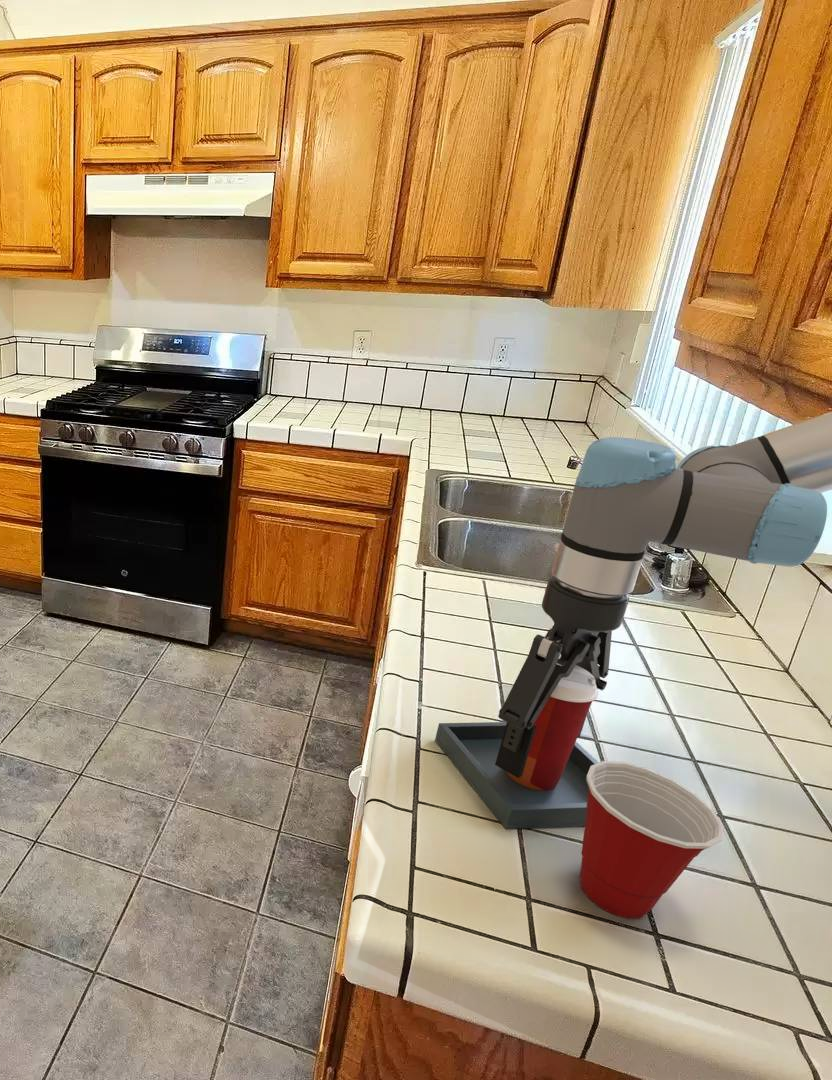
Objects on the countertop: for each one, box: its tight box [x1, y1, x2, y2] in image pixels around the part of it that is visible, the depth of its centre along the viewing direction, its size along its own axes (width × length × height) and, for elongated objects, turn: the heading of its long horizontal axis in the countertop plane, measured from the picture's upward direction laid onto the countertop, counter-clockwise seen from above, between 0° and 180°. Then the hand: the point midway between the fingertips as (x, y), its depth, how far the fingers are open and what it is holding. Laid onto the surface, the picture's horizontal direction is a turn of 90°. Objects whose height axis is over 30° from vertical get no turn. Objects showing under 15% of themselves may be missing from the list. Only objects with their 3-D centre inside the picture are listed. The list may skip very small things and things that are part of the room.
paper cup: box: [506, 664, 600, 791], centre depth 86 cm, size 8×8×14 cm
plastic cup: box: [579, 760, 725, 919], centre depth 71 cm, size 11×11×12 cm
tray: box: [434, 721, 600, 830], centre depth 89 cm, size 16×16×3 cm
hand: (538, 750), depth 88 cm, fingers open, 13 cm apart
